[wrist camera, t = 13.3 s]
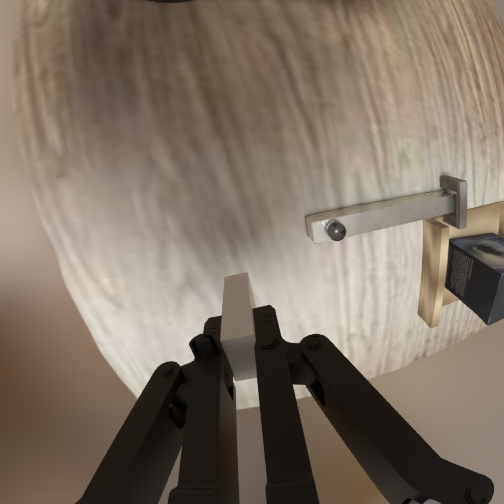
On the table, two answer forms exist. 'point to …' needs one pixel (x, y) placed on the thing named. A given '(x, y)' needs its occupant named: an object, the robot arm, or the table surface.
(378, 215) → the lock bolt
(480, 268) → the small box
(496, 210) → the cradle
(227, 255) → the table surface
